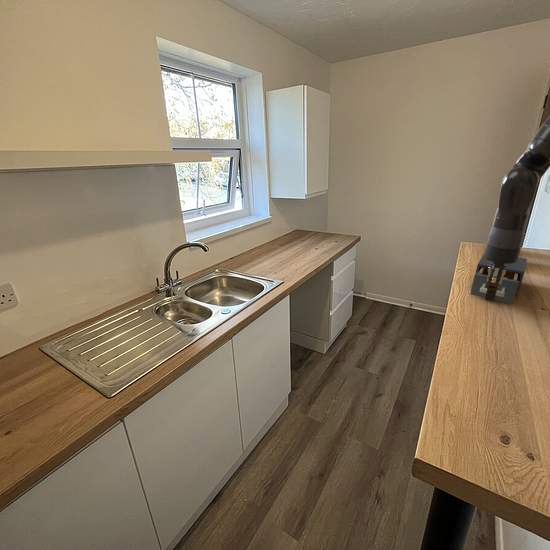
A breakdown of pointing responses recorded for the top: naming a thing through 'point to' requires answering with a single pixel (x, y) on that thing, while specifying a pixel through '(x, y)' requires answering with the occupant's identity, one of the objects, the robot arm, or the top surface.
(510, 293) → the drawer
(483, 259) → the cabinet
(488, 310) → the top surface
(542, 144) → the robot arm
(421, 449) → the top surface
